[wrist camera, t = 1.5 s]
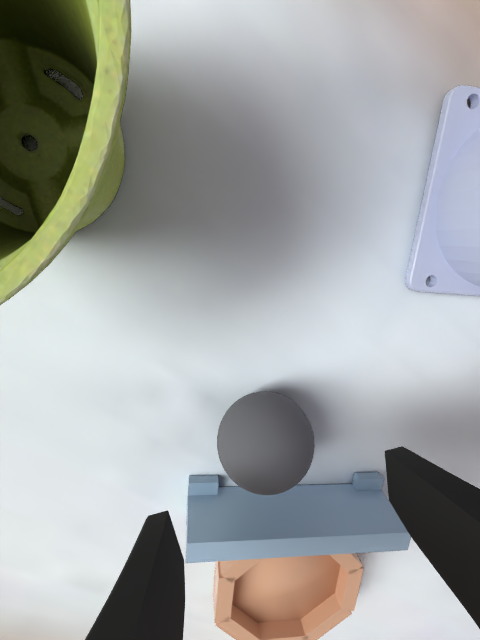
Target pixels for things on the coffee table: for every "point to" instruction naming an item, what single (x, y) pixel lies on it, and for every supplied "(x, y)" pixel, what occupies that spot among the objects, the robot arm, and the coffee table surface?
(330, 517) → the blue slab with nubs
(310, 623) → the bowl
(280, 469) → the ball
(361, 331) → the coffee table surface
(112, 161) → the plant pot
